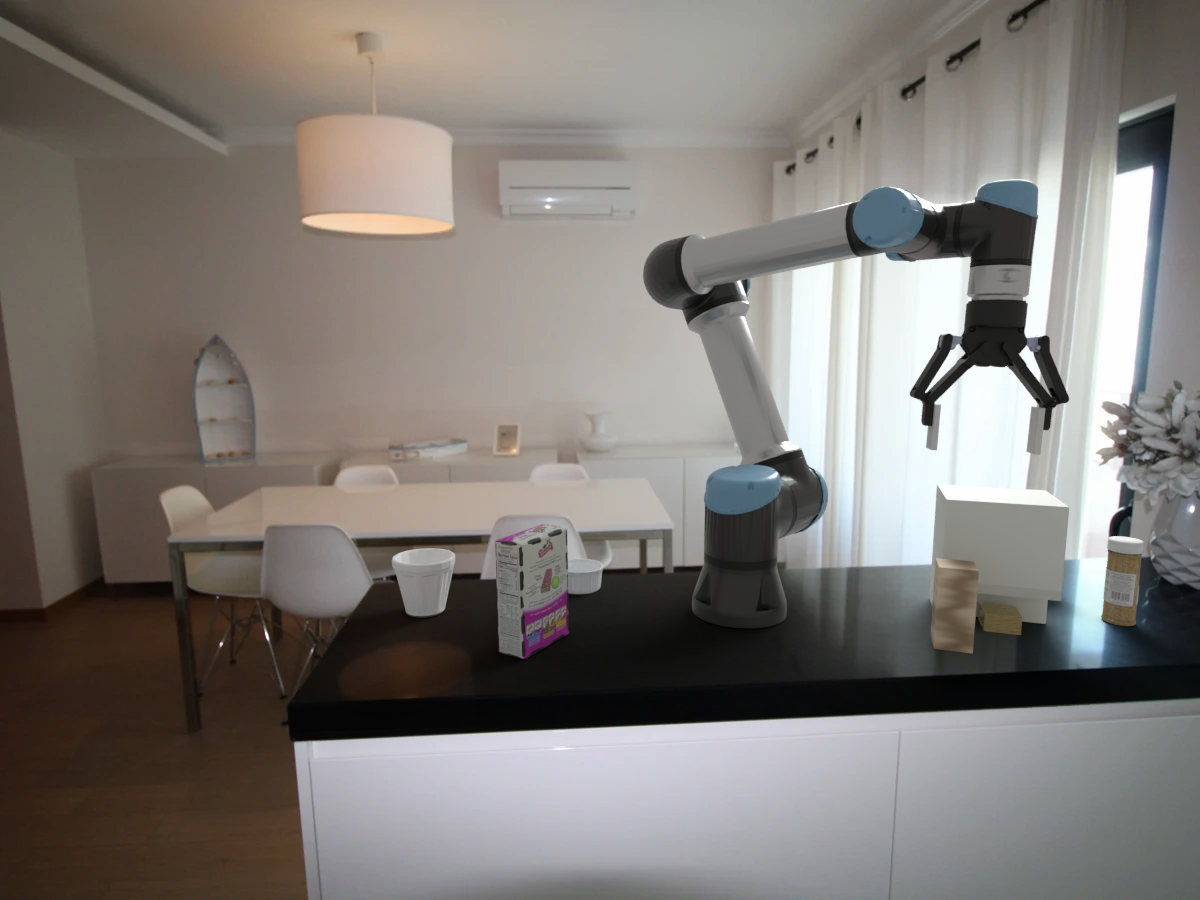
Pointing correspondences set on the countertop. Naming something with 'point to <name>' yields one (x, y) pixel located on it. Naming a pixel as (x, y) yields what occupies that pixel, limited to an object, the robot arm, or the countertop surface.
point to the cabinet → (1004, 544)
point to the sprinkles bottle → (1122, 580)
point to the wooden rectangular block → (954, 605)
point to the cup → (424, 579)
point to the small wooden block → (1000, 619)
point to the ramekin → (584, 576)
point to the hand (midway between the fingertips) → (981, 451)
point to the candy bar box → (532, 589)
